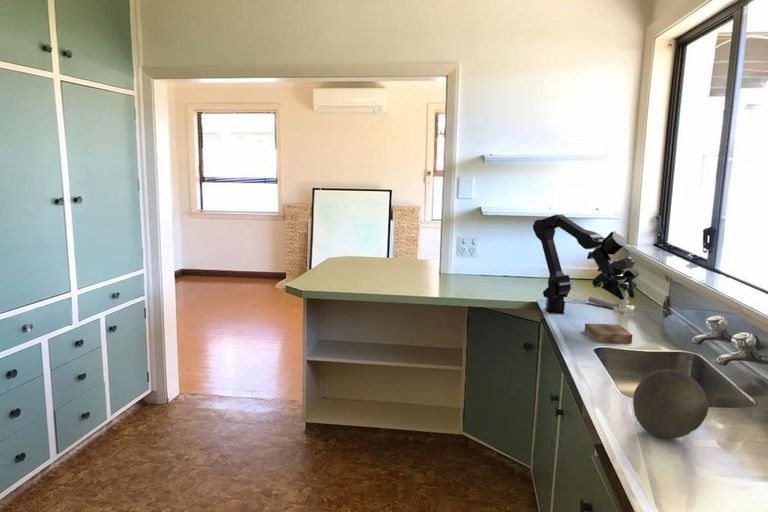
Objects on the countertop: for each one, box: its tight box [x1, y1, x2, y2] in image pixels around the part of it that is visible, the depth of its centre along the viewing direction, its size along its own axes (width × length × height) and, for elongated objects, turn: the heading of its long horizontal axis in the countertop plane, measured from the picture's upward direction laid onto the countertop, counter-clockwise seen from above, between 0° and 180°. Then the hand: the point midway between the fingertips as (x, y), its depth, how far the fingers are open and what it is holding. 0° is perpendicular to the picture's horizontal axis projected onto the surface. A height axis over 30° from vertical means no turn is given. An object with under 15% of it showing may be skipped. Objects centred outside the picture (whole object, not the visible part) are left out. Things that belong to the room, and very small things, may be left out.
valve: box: [612, 281, 637, 317], centre depth 190 cm, size 7×7×12 cm
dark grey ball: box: [632, 368, 710, 440], centre depth 117 cm, size 14×14×15 cm
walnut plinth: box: [584, 323, 633, 344], centre depth 188 cm, size 12×12×3 cm
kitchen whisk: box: [568, 285, 621, 310], centre depth 234 cm, size 6×34×6 cm, turn 40°
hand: (628, 298), depth 189 cm, fingers closed on valve, 5 cm apart
